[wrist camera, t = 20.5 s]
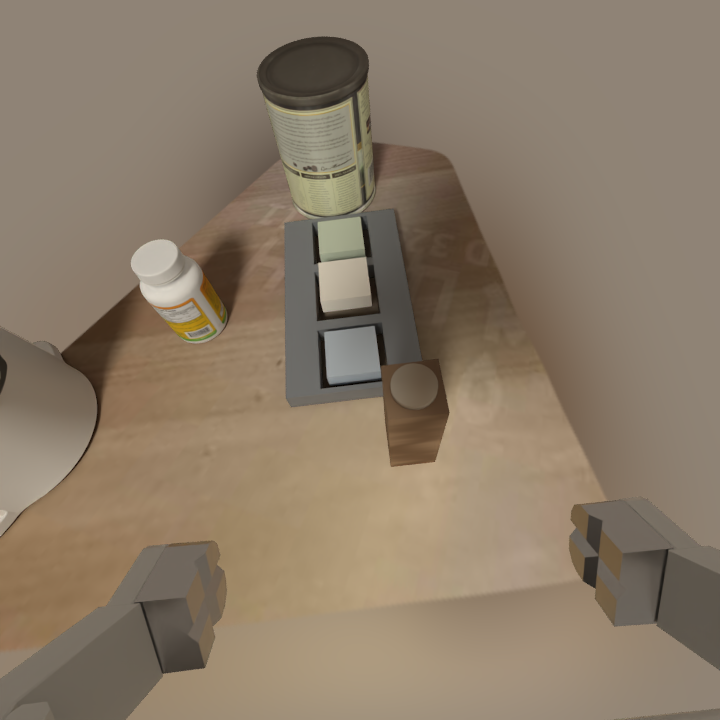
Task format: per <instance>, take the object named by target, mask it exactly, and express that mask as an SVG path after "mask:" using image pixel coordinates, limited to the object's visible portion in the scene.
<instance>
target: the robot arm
mask: <svg viewBox="0 0 720 720" xmlns="http://www.w3.org/2000/svg"><path fill="white" fill-rule="evenodd" d="M96 417H97V400H96V395H95V392H94V389H93V387H92V385H91V383H90V381H89V380H88V379H87V378H86V377H85V376H84V375H83V374H82V373H81V372H80V371H78V370H76V369H75V368H73V367H71V366H69V365H68V364H66V363H65V362H64V361H63V358H62V356H61V354H60V352H59V350H58V349H57V348H56V347H55V346H54V345H52V344H50V343H48V342H45V341H39V342H35V343H30V342H29V341H27V340H25V339H23V338H21V337H20V336H18V335H16V334H14V333H12V332H10V331H8V330H6V329H5V328H3V327H1V326H0V536H1V535H2V534H3V533H4V532H5V531H6V530H7V529H8V527H9V526H10V525H11V524H12V523H13V521H14V520H15V519H16V518H17V516H18V515H19V514H20V513H21V512H22V511H23V510H24V509H26V508H27V507H28V506H29V505H31V504H32V503H34V502H35V501H37V500H38V499H40V498H41V497H42V496H44V495H45V494H47V493H48V492H49V491H50V490H52V489H53V488H54V487H55V486H56V485H57V484H58V483H59V482H61V481H62V480H63V479H64V478H65V476H66V475H67V474H68V473H69V472H70V471H71V470H72V468H73V467H74V466H75V465H76V463H77V462H78V460H79V459H80V457H81V456H82V454H83V453H84V451H85V449H86V447H87V445H88V443H89V441H90V439H91V436H92V433H93V430H94V427H95V423H96ZM571 521H572V522H573V524H574V525H575V526H576V529H575V530H574V531H573V533H572V534H571V535H570V536H569V551H570V555H571V559H572V563H573V565H574V567H575V569H576V571H577V573H578V574H579V576H580V577H581V579H582V581H583V582H585V583H587V584H588V585H590V586H592V587H593V588H595V589H596V591H595V600H596V601H597V602H598V604H599V605H600V607H601V608H602V610H603V611H604V612H605V614H606V615H607V617H608V618H609V620H610V621H611V623H612V624H613V625H614V626H626V625H641V624H655V623H657V626H658V627H659V628H661V629H662V630H663V631H665V632H666V633H668V634H669V635H671V636H672V637H673V638H675V639H676V640H677V641H679V642H680V643H682V644H683V645H685V646H686V647H687V648H689V649H690V650H692V651H693V652H694V653H696V654H697V655H699V656H700V657H701V658H703V659H704V660H706V661H707V662H709V663H710V664H711V665H713V666H714V667H716V668H717V669H719V670H720V550H718V549H716V548H713V547H711V546H701V545H699V544H698V543H697V542H696V541H695V540H694V539H693V538H691V537H690V536H689V535H688V534H687V533H686V532H684V531H683V530H682V529H681V528H680V527H679V526H678V525H676V524H675V523H674V522H673V521H672V520H671V519H670V518H668V517H667V516H666V515H665V514H664V513H663V512H662V511H660V510H659V509H658V508H657V507H656V506H655V505H653V504H652V503H651V502H650V501H649V500H648V499H645V498H643V497H635V498H627V499H619V500H615V501H605V502H595V503H586V504H576V505H574V506H573V508H572V510H571ZM219 557H220V552H219V548H218V544H217V543H216V542H215V541H200V542H187V543H174V544H165V545H153V546H148V547H146V548H144V549H143V550H142V551H141V553H140V554H139V556H138V557H137V559H136V561H135V562H134V564H133V565H132V567H131V568H130V570H129V571H128V573H127V574H126V576H125V578H124V579H123V581H122V582H121V584H120V585H119V587H118V588H117V590H116V592H115V593H114V595H113V596H112V598H111V599H110V601H109V602H108V604H107V605H106V606H105V607H98V608H97V609H95V610H94V611H93V612H91V613H90V614H89V615H87V616H86V617H84V618H83V619H82V620H80V621H79V622H78V623H76V624H75V625H73V626H72V627H71V628H69V629H68V630H67V631H65V632H64V633H62V634H61V635H60V636H58V637H57V638H56V639H54V640H53V641H51V642H50V643H49V644H47V645H46V646H45V647H43V648H42V649H40V650H39V651H38V652H36V653H35V654H34V655H32V656H31V657H30V658H28V659H27V660H25V661H24V662H23V663H21V664H20V665H19V666H17V667H16V668H14V669H13V670H12V671H10V672H9V673H8V674H6V675H5V676H3V677H2V678H1V679H0V720H126V718H127V717H128V716H129V715H130V714H131V713H132V712H133V711H134V709H135V708H136V707H137V706H138V705H139V704H140V702H141V701H142V700H143V699H144V698H145V697H146V695H147V694H148V693H149V692H150V691H151V690H152V688H153V687H154V686H155V685H156V684H157V682H158V681H159V680H160V679H161V678H162V677H163V675H162V674H164V673H171V672H179V671H186V670H193V669H202V668H205V667H206V664H207V660H208V658H209V654H210V652H211V649H212V645H213V642H214V639H215V634H214V630H213V626H214V625H215V624H216V623H217V622H218V621H219V620H220V619H221V618H222V614H223V611H224V608H225V602H226V594H227V586H226V577H225V573H224V570H222V569H221V568H220V567H219V566H218V565H217V563H218V560H219ZM614 720H720V709H711V710H701V711H692V712H682V713H672V714H663V715H652V716H643V717H634V718H625V719H614Z"/></svg>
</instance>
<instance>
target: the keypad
mask: <svg viewBox="0 0 720 720" xmlns="http://www.w3.org/2000/svg"><path fill="white" fill-rule="evenodd" d="M353 217H360V218H361V225H362V230H366V229H368V235H369V242H370V249H371V256H372V257H369V258H366V261H367V268H368V276H369V278H374V277H375V284H376V291H377V298H378V306H379V313H380V314H372V315H364V316H356V317H348V318H340V319H331V320H323V321H320V316H319V298H318V285H319V268H318V264H317V262H316V244H315V236H318V222H322V221H330V220H337V219H345V218H353ZM370 326H375V332H376V335H377V334H383V341H384V348H385V355H386V362H387V365H392V364H401V363H409V362H417V361H422V357H421V352H420V347H419V341H418V336H417V331H416V325H415V320H414V315H413V309H412V304H411V299H410V294H409V288H408V283H407V278H406V272H405V267H404V262H403V256H402V251H401V246H400V241H399V235H398V230H397V225H396V219H395V214H394V209H387V210H379V211H371V212H364V213H356V214H348V215H341V216H333V217H325V218H317V219H310V220H302V221H294V222H287V223H285V354H286V399H287V401H288V403H289V404H290V406H291V407H297V406H305V405H314V404H322V403H331V402H339V401H348V400H356V399H364V398H373V397H381V396H383V387H382V382H374V383H366V384H357V385H349V386H340V387H332V388H323V370H322V352H321V341H325V337H324V332H329V331H337V330H346V329H354V328H362V327H370Z"/></svg>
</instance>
